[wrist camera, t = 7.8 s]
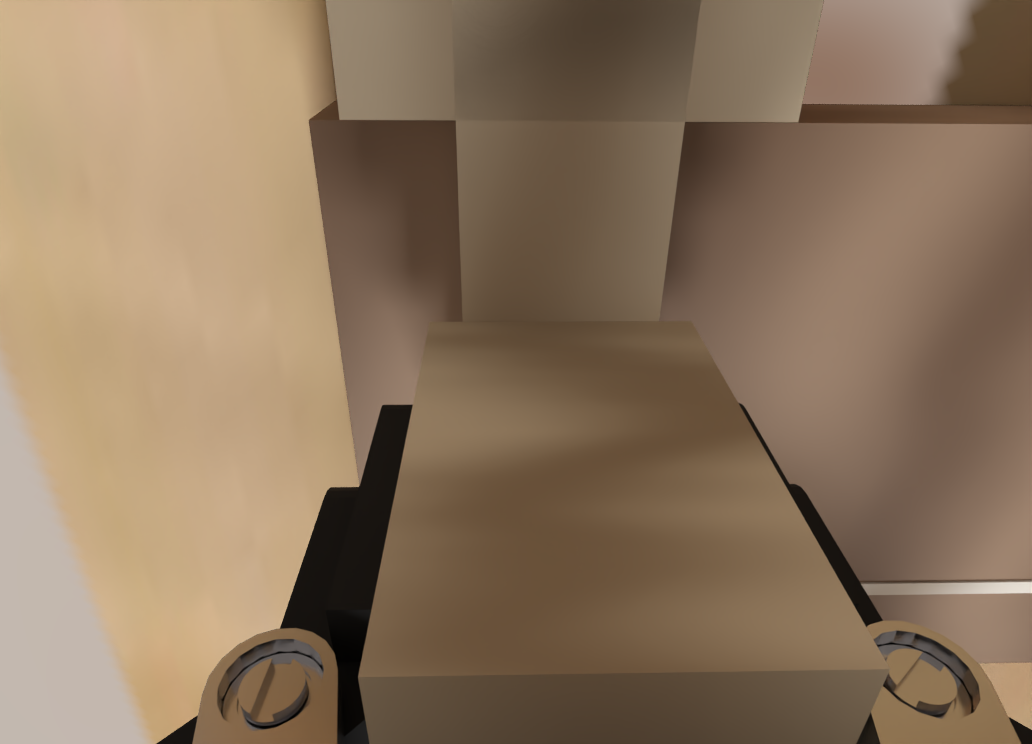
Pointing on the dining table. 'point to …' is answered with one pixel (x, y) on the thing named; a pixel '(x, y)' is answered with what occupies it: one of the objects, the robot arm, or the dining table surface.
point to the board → (787, 322)
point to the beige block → (589, 400)
